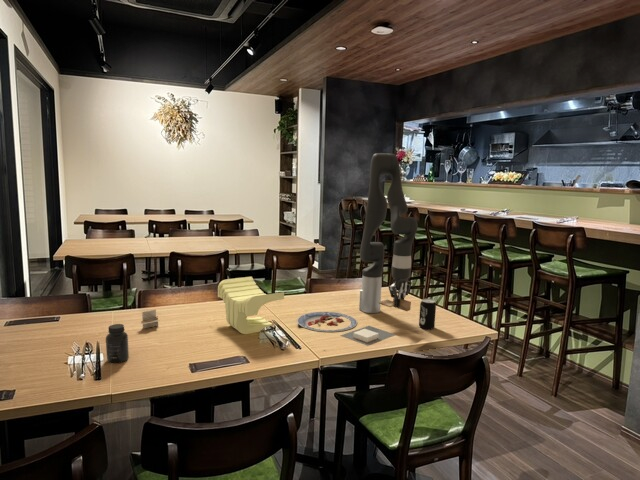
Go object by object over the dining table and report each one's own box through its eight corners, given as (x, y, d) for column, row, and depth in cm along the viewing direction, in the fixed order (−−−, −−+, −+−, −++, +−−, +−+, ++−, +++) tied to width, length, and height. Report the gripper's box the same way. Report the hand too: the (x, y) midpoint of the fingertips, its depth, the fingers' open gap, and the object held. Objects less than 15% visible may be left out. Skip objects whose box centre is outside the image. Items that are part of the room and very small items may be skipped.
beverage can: (434, 330, 192) (436, 303, 190) (418, 329, 193) (420, 302, 191) (434, 325, 198) (435, 299, 196) (418, 324, 200) (420, 297, 198)
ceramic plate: (319, 312, 213) (319, 306, 212) (367, 324, 198) (368, 317, 198) (284, 326, 192) (284, 320, 191) (335, 341, 177) (335, 333, 177)
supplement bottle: (111, 355, 157) (109, 322, 155) (131, 355, 157) (130, 322, 156) (103, 364, 150) (101, 329, 148) (124, 364, 151) (123, 329, 149)
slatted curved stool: (217, 320, 197) (217, 280, 195) (251, 314, 206) (251, 276, 203) (246, 342, 173) (246, 297, 170) (283, 335, 181) (284, 292, 179)
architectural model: (159, 328, 186) (159, 311, 185) (142, 332, 181) (142, 314, 180) (156, 326, 188) (156, 309, 187) (139, 329, 184) (139, 312, 183)
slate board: (339, 339, 179) (340, 335, 179) (368, 329, 191) (368, 325, 191) (367, 349, 169) (367, 345, 169) (395, 338, 182) (396, 334, 181)
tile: (353, 332, 176) (367, 337, 171) (364, 328, 181) (378, 333, 176) (353, 337, 176) (367, 342, 172) (364, 333, 181) (378, 338, 177)
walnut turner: (412, 309, 186) (413, 301, 185) (404, 312, 182) (405, 303, 181) (387, 300, 195) (387, 293, 194) (378, 303, 191) (379, 295, 190)
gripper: (399, 269, 177) (396, 312, 180) (418, 265, 186) (416, 305, 189) (383, 266, 182) (381, 307, 185) (403, 261, 192) (401, 301, 194)
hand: (399, 306), depth 187 cm, fingers closed on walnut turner, 2 cm apart
